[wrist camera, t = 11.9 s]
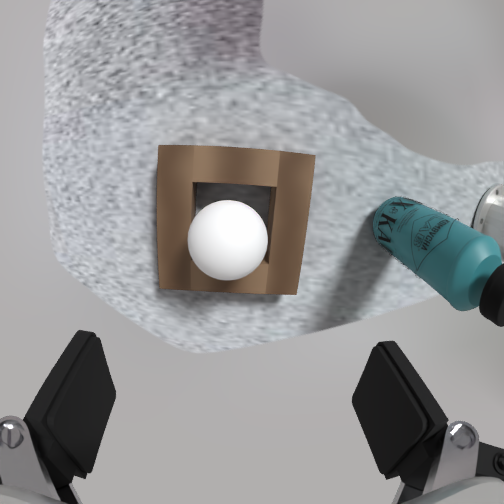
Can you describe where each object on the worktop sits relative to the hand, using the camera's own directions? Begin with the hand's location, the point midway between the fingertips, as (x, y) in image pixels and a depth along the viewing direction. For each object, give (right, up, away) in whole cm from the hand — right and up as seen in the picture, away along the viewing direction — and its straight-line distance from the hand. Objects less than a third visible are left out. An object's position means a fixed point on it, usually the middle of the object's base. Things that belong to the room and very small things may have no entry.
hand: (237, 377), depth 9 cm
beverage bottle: (+16, +8, +22) cm, 29 cm away
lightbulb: (-2, +8, +21) cm, 22 cm away
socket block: (-2, +8, +21) cm, 22 cm away
